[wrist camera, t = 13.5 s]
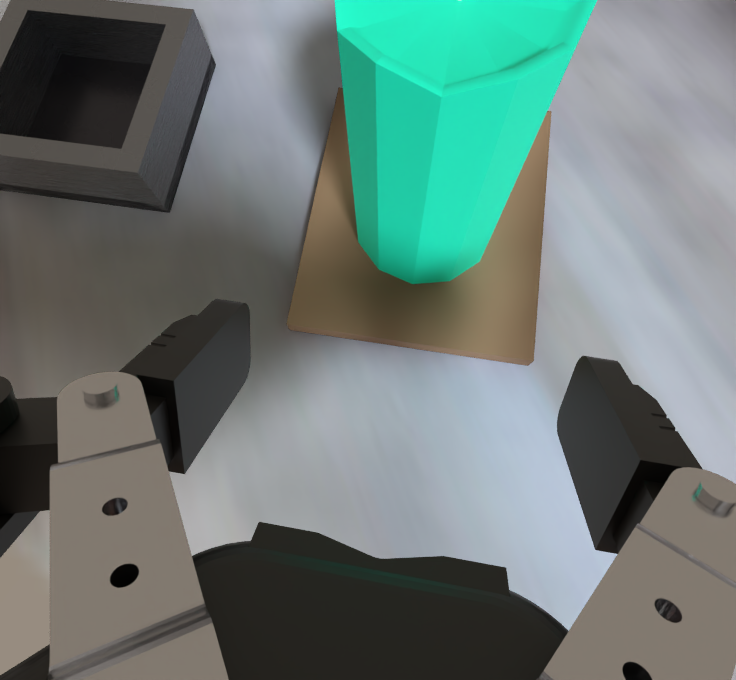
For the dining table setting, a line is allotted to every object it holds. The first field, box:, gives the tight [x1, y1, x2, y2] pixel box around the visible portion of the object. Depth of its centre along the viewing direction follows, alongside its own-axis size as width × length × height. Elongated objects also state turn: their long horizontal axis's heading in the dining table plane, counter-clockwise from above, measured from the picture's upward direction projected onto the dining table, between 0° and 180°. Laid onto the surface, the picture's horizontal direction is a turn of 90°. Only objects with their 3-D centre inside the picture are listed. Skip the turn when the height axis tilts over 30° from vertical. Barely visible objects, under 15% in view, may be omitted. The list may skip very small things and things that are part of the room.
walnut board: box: [286, 88, 551, 366], centre depth 21 cm, size 10×12×1 cm
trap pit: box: [0, 0, 216, 213], centre depth 22 cm, size 9×9×3 cm
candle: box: [335, 0, 597, 284], centre depth 15 cm, size 6×6×12 cm
